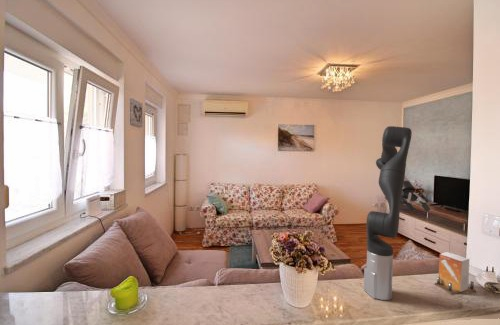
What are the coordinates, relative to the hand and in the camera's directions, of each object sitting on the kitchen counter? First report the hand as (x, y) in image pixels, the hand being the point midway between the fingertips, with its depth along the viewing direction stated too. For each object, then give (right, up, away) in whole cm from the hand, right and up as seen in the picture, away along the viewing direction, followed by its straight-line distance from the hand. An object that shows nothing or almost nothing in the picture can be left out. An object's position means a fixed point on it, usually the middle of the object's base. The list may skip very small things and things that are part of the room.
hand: (420, 210), depth 110 cm
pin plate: (+6, -31, -12) cm, 34 cm away
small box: (+5, -30, -11) cm, 33 cm away
